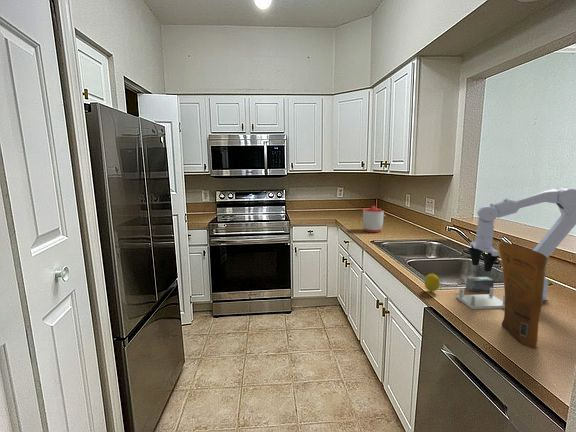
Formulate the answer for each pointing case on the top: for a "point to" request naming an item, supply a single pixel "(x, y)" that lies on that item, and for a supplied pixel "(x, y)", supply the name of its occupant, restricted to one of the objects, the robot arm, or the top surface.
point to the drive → (479, 284)
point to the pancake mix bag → (522, 291)
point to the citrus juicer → (373, 219)
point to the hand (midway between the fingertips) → (481, 268)
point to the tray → (481, 300)
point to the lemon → (432, 282)
